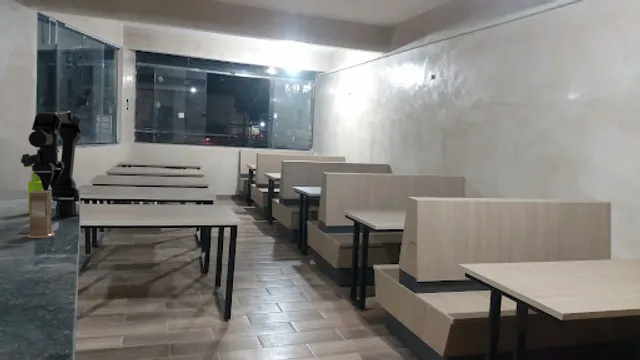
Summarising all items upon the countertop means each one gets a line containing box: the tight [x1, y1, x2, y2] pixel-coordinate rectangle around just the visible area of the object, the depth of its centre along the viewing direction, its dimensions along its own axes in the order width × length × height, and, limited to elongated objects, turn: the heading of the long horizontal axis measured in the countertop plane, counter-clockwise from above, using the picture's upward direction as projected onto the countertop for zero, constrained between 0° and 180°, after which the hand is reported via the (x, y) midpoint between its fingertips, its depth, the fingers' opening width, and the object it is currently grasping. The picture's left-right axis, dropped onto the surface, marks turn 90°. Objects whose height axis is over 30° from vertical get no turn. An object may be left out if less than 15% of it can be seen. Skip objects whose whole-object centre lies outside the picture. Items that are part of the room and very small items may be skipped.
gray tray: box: [22, 221, 60, 234], centre depth 162 cm, size 9×9×2 cm
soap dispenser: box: [25, 164, 44, 215], centre depth 195 cm, size 6×7×20 cm
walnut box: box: [29, 190, 53, 236], centre depth 154 cm, size 5×5×14 cm
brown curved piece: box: [27, 231, 55, 239], centre depth 154 cm, size 8×8×1 cm
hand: (49, 189), depth 173 cm, fingers open, 9 cm apart
